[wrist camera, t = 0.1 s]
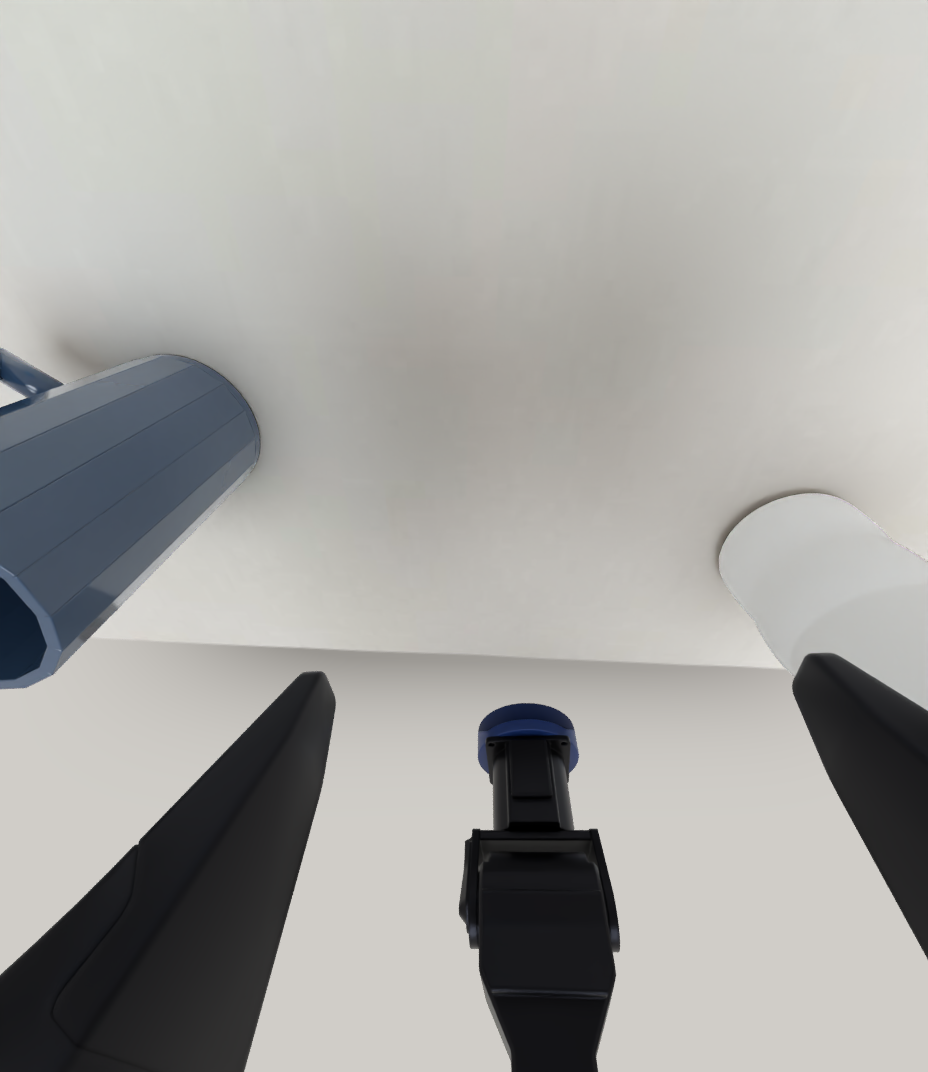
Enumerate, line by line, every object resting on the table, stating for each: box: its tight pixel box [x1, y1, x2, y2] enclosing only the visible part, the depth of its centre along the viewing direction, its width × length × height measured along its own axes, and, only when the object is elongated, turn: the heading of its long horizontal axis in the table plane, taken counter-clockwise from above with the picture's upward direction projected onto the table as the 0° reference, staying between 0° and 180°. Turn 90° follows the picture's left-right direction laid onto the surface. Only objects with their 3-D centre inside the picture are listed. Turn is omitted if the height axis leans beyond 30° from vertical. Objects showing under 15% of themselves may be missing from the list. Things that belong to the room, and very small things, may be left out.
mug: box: [0, 348, 260, 689], centre depth 16 cm, size 10×7×13 cm
